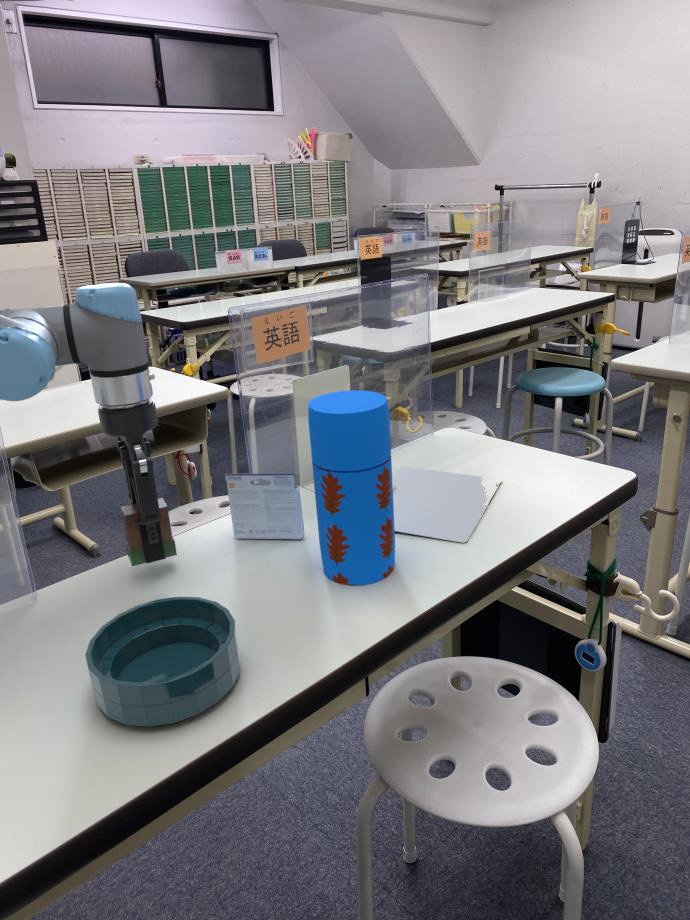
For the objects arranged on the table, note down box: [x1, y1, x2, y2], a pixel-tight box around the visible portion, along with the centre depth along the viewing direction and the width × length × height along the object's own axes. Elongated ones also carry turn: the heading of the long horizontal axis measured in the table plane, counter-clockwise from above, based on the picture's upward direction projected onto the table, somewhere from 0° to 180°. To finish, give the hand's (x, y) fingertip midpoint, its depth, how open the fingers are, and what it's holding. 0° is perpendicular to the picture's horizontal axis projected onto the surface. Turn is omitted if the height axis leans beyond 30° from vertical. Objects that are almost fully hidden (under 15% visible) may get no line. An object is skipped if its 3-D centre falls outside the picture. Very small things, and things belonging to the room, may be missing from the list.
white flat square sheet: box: [392, 466, 490, 544], centre depth 119 cm, size 25×24×1 cm
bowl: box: [85, 596, 241, 728], centre depth 78 cm, size 16×16×6 cm
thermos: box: [307, 389, 396, 586], centre depth 95 cm, size 11×11×25 cm
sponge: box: [120, 497, 178, 567], centre depth 100 cm, size 4×6×8 cm, turn 116°
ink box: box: [224, 472, 306, 540], centre depth 108 cm, size 12×2×12 cm, turn 80°
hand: (152, 553), depth 101 cm, fingers closed on sponge, 4 cm apart
